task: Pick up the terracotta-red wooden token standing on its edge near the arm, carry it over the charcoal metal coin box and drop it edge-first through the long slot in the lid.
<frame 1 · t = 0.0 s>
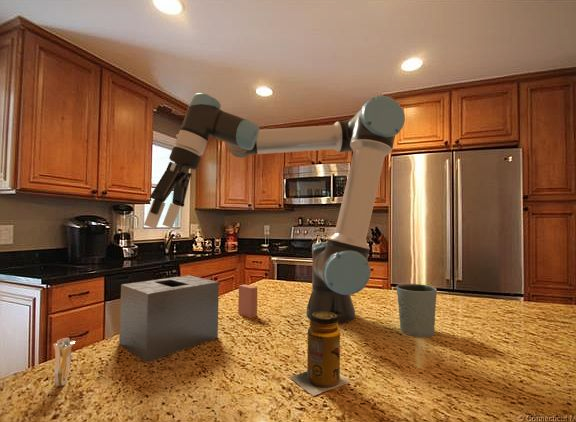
hand: (159, 226, 79), 28 cm above the countertop, tool tilted 20°, fingers open, 13 cm apart
coin box: (169, 340, 74), on the countertop
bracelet: (62, 385, 54), on the countertop
condiment: (319, 381, 56), on the countertop
token: (247, 315, 96), on the countertop
grey cup: (416, 332, 83), on the countertop
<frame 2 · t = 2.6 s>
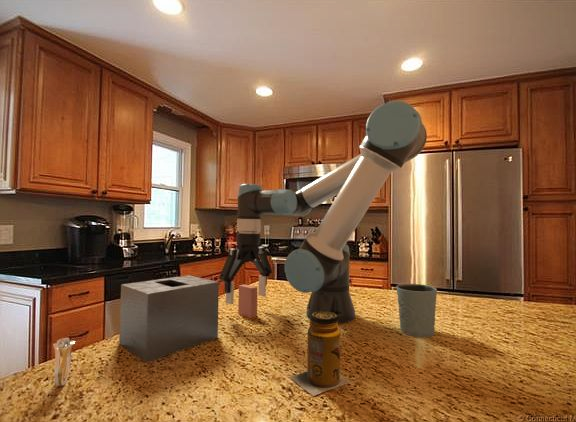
hand: (246, 299, 96), 5 cm above the countertop, tool pointing down, fingers open, 13 cm apart
nothing on the countertop moved.
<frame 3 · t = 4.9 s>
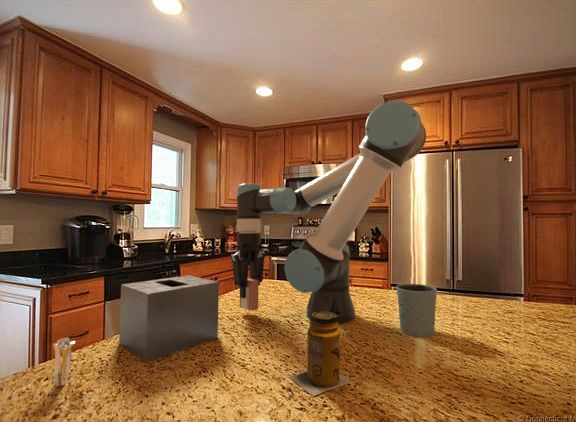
hand: (248, 306, 96), 3 cm above the countertop, tool pointing down, fingers closed on token, 2 cm apart
token: (248, 308, 96), point 2 cm above the countertop, touching gripper
everything else where it was.
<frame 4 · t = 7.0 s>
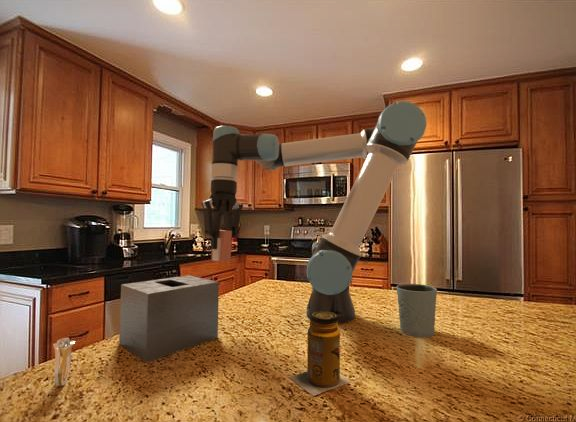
hand: (220, 260, 89), 18 cm above the countertop, tool pointing down, fingers closed on token, 2 cm apart
token: (220, 261, 89), point 18 cm above the countertop, touching gripper
everything else where it was.
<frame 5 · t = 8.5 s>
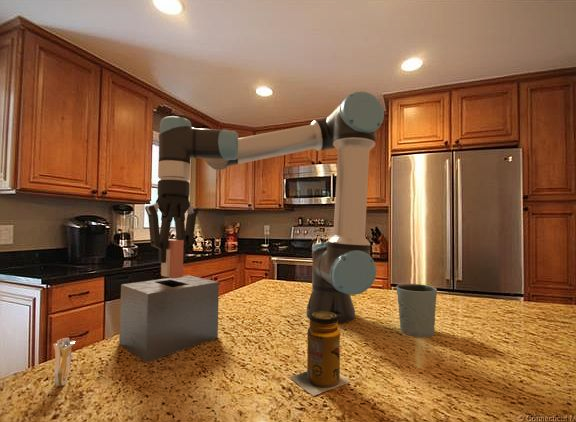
hand: (171, 275, 75), 16 cm above the countertop, tool pointing down, fingers closed on token, 2 cm apart
token: (171, 276, 75), point 16 cm above the countertop, touching gripper
everything else where it was.
when the fingers open (16 cm above the countertop, at t = 9.3 s): token drops 15 cm, resting on coin box.
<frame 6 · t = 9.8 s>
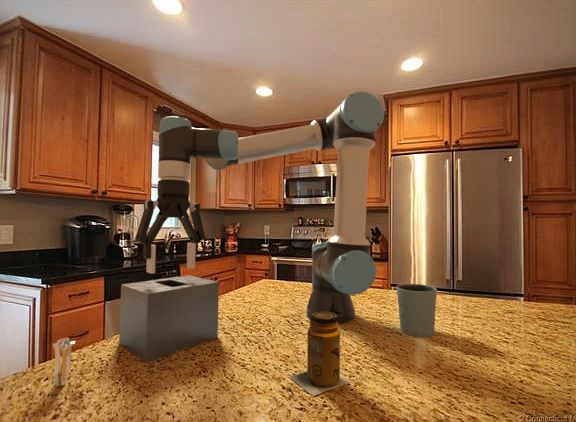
hand: (171, 270, 75), 17 cm above the countertop, tool pointing down, fingers open, 10 cm apart
token: (170, 336, 74), point 1 cm above the countertop, touching coin box
everything else where it was.
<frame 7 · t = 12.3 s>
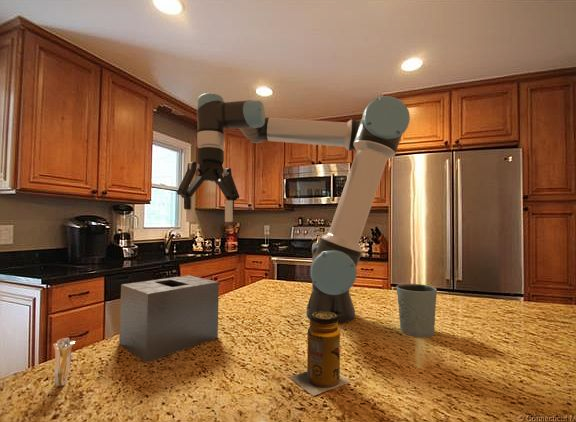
hand: (210, 222, 87), 29 cm above the countertop, tool pointing down, fingers open, 13 cm apart
nothing on the countertop moved.
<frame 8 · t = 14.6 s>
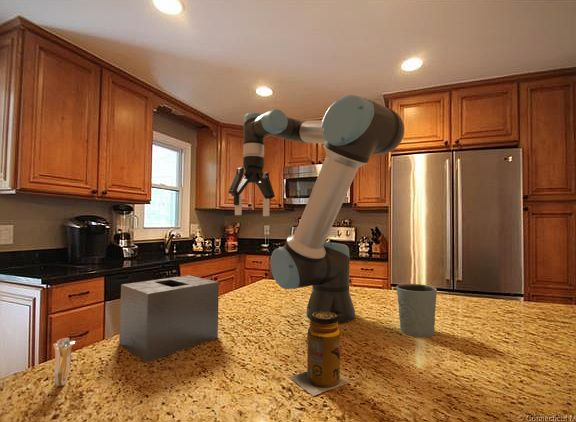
hand: (252, 215, 109), 32 cm above the countertop, tool pointing down, fingers open, 13 cm apart
nothing on the countertop moved.
at the end: token inside the target area on the coin box (0.1 cm from its centre), point 1.0 cm above the coin box's base; the gripper is holding nothing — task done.
